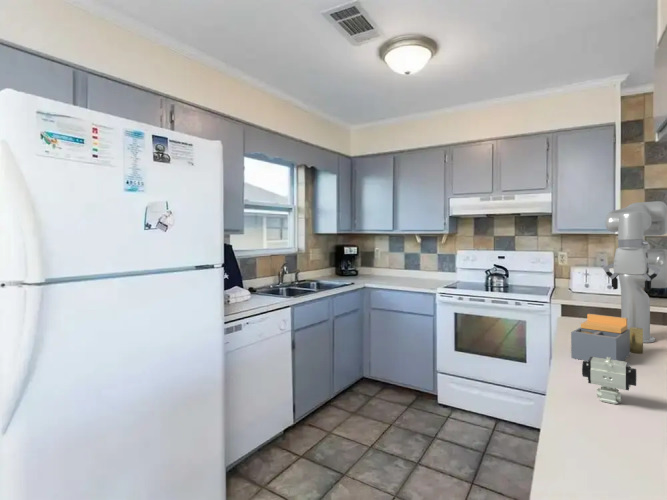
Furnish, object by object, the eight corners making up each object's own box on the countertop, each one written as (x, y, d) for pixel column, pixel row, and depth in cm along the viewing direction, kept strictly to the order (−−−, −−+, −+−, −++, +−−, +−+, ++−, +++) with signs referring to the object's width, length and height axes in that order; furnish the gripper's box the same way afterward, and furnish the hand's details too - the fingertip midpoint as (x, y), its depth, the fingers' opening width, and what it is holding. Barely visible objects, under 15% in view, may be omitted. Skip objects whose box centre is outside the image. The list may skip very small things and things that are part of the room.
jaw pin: (631, 349, 148) (630, 326, 148) (644, 352, 145) (644, 328, 145) (628, 352, 146) (628, 328, 145) (641, 354, 142) (641, 330, 142)
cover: (588, 323, 151) (588, 313, 151) (627, 328, 142) (627, 318, 142) (580, 327, 145) (580, 317, 145) (620, 333, 136) (620, 322, 136)
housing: (587, 347, 152) (587, 323, 152) (629, 355, 142) (629, 329, 142) (571, 357, 141) (571, 332, 141) (616, 366, 131) (616, 338, 130)
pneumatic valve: (584, 393, 110) (584, 351, 110) (636, 403, 103) (636, 359, 102) (581, 399, 106) (581, 356, 105) (635, 411, 98) (635, 364, 98)
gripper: (662, 244, 140) (663, 291, 140) (606, 244, 153) (606, 287, 154) (658, 244, 135) (658, 293, 135) (600, 245, 148) (600, 289, 149)
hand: (630, 290), depth 145 cm, fingers open, 9 cm apart
